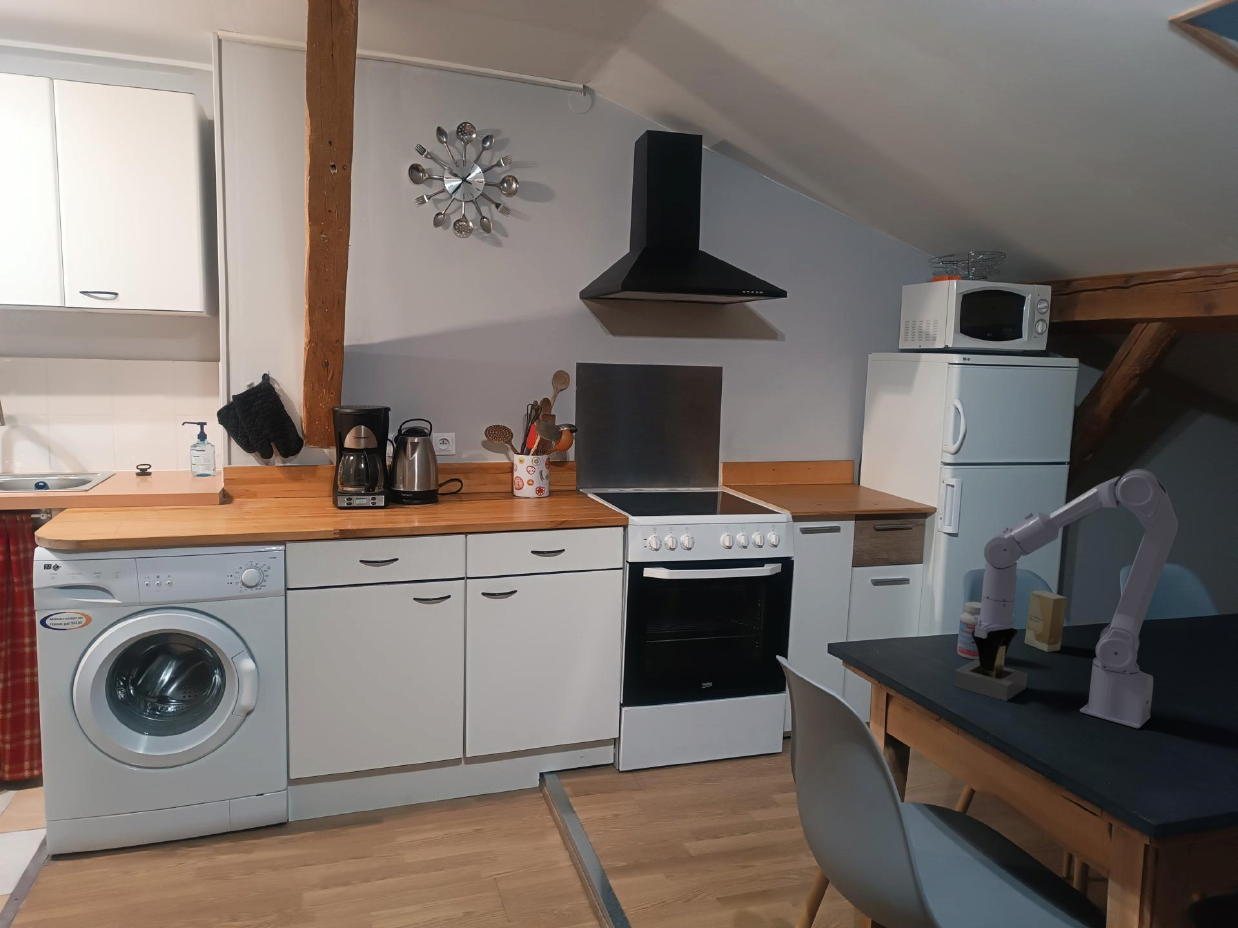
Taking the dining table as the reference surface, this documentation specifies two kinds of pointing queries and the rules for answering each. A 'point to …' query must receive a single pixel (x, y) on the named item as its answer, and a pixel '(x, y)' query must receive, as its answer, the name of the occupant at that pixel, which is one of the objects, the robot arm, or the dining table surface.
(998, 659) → the brass cylinder
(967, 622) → the pill bottle
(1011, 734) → the dining table surface
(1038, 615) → the skincare box
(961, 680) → the coupling block
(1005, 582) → the robot arm
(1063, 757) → the dining table surface
